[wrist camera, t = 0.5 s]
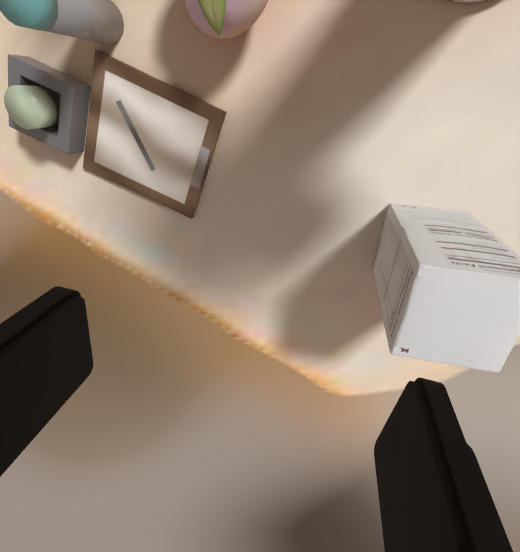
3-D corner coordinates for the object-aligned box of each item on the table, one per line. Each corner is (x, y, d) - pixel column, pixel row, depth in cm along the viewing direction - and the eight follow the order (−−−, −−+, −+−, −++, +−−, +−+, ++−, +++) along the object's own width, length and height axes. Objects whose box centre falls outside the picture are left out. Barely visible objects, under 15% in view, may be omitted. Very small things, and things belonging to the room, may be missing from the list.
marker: (91, -10, 35) (-10, -51, 25) (126, 8, 35) (40, -27, 25) (87, 35, 37) (-8, 13, 27) (120, 51, 37) (38, 35, 27)
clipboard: (98, 50, 38) (92, 49, 37) (226, 112, 38) (223, 112, 37) (85, 166, 45) (80, 168, 44) (193, 217, 45) (190, 219, 44)
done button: (22, 78, 38) (4, 78, 36) (58, 95, 38) (41, 95, 36) (22, 117, 40) (4, 119, 38) (55, 133, 40) (40, 135, 38)
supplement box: (444, 281, 43) (500, 378, 28) (371, 271, 44) (388, 359, 30) (472, 209, 38) (555, 281, 23) (388, 200, 39) (418, 263, 25)
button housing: (29, 56, 40) (7, 54, 37) (90, 86, 40) (73, 85, 37) (28, 124, 44) (8, 126, 41) (83, 150, 44) (68, 154, 41)
